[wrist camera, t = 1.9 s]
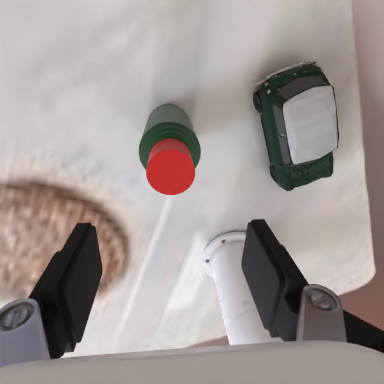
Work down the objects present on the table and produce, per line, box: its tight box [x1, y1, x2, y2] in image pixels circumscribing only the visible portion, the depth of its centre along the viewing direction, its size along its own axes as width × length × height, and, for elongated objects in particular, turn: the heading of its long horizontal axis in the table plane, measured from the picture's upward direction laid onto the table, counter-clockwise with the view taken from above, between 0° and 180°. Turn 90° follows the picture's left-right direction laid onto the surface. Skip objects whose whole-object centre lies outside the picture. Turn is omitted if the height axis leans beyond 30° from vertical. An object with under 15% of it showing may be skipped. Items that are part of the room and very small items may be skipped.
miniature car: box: [253, 62, 339, 191], centre depth 35 cm, size 9×18×8 cm, turn 20°
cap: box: [146, 139, 195, 195], centre depth 22 cm, size 4×4×4 cm
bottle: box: [139, 104, 201, 170], centre depth 29 cm, size 6×6×18 cm
